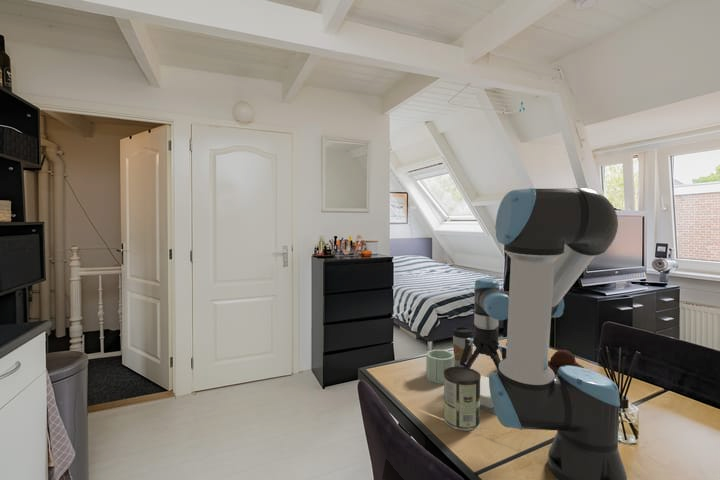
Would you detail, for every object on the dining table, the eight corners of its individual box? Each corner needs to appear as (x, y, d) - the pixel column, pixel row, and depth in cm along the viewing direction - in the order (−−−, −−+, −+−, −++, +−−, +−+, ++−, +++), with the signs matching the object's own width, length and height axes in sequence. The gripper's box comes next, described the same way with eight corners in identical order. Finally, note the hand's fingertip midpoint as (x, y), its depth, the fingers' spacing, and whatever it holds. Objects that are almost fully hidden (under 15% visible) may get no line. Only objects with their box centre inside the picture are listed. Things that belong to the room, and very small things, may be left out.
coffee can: (461, 408, 109) (461, 363, 109) (488, 424, 101) (488, 376, 100) (435, 417, 104) (436, 370, 104) (461, 435, 95) (462, 384, 95)
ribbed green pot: (445, 387, 124) (445, 361, 123) (421, 378, 130) (421, 354, 130) (459, 378, 131) (459, 354, 131) (435, 370, 138) (435, 347, 137)
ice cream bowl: (590, 402, 113) (591, 356, 112) (552, 399, 115) (553, 353, 114) (577, 387, 123) (578, 345, 122) (542, 384, 125) (543, 343, 125)
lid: (491, 408, 109) (491, 398, 108) (461, 397, 115) (461, 388, 115) (508, 392, 119) (508, 383, 119) (479, 383, 126) (480, 375, 125)
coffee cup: (447, 364, 144) (448, 328, 143) (463, 360, 147) (464, 325, 147) (461, 372, 136) (462, 333, 136) (478, 368, 140) (478, 330, 139)
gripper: (526, 330, 111) (525, 399, 112) (459, 318, 126) (459, 378, 127) (517, 336, 106) (516, 408, 107) (449, 322, 121) (449, 385, 122)
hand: (485, 392), depth 117 cm, fingers closed on lid, 10 cm apart
